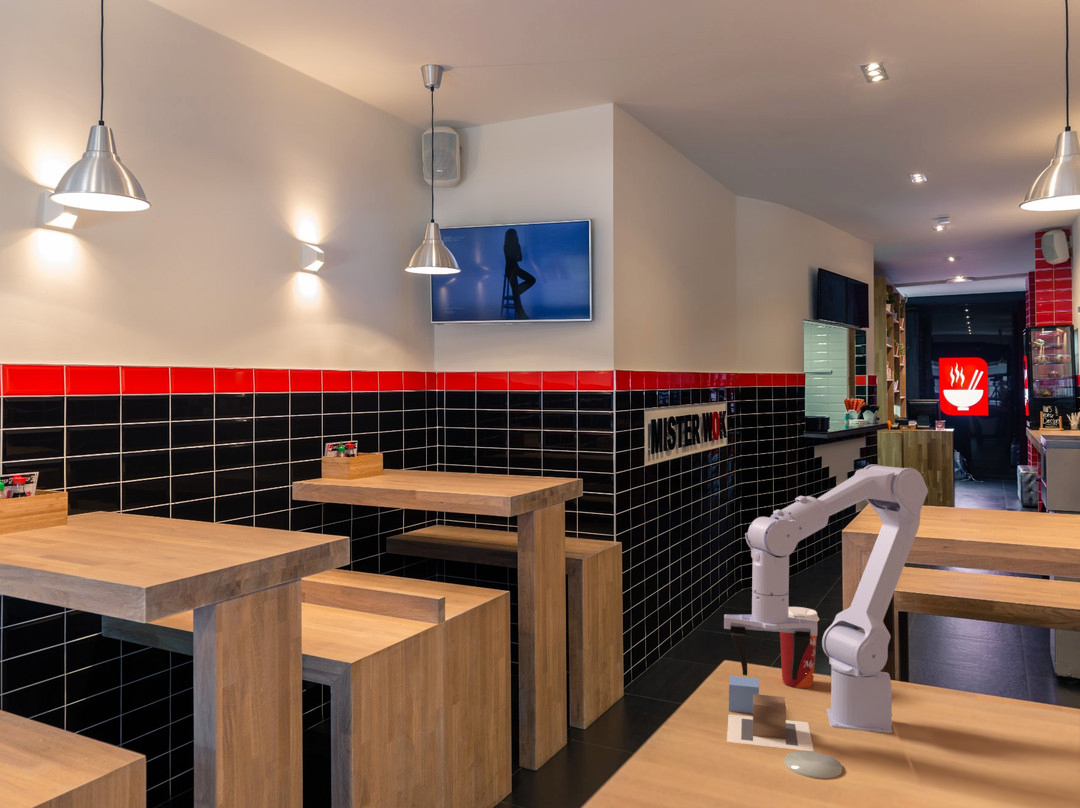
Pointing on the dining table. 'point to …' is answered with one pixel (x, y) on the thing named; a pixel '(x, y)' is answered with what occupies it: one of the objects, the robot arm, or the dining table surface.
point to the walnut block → (769, 716)
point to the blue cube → (742, 693)
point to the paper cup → (807, 658)
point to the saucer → (813, 764)
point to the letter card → (743, 733)
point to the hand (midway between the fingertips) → (769, 675)
